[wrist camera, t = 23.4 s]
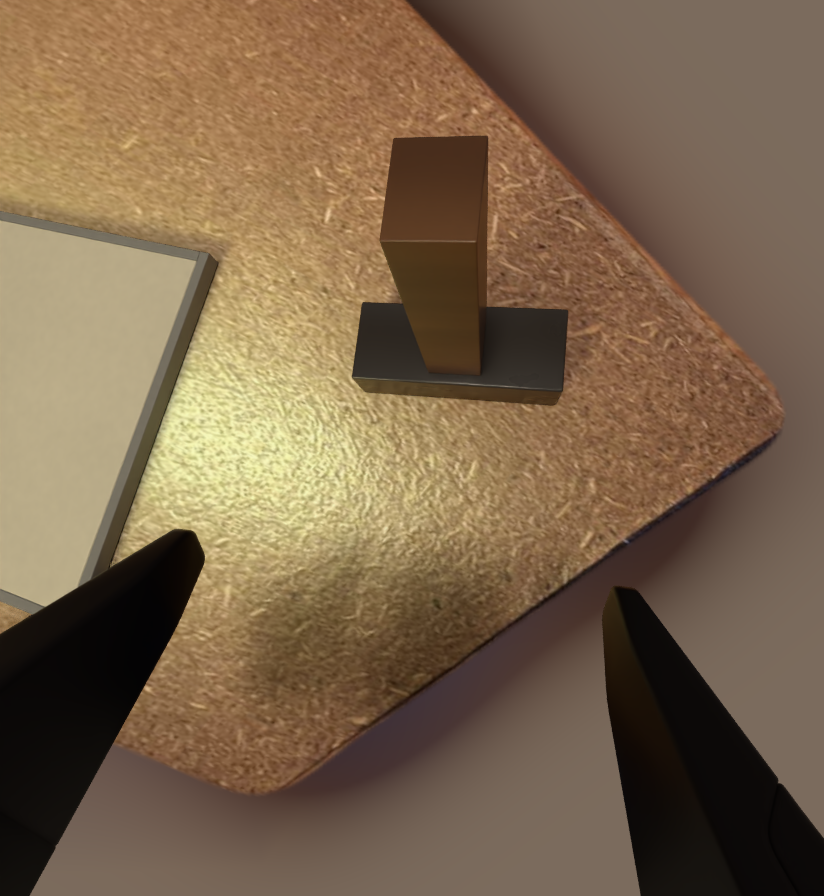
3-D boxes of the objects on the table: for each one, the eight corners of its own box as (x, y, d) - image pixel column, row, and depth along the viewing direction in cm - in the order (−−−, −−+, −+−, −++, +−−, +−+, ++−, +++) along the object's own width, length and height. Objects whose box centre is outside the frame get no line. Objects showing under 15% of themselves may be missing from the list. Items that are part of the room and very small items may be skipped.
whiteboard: (87, 627, 25) (71, 631, 24) (-171, 522, 29) (-194, 522, 28) (218, 262, 28) (209, 252, 27) (-35, 210, 32) (-52, 200, 31)
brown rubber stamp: (554, 405, 23) (639, 264, 11) (364, 392, 25) (240, 256, 12) (560, 330, 24) (645, 112, 11) (373, 322, 26) (264, 124, 13)
